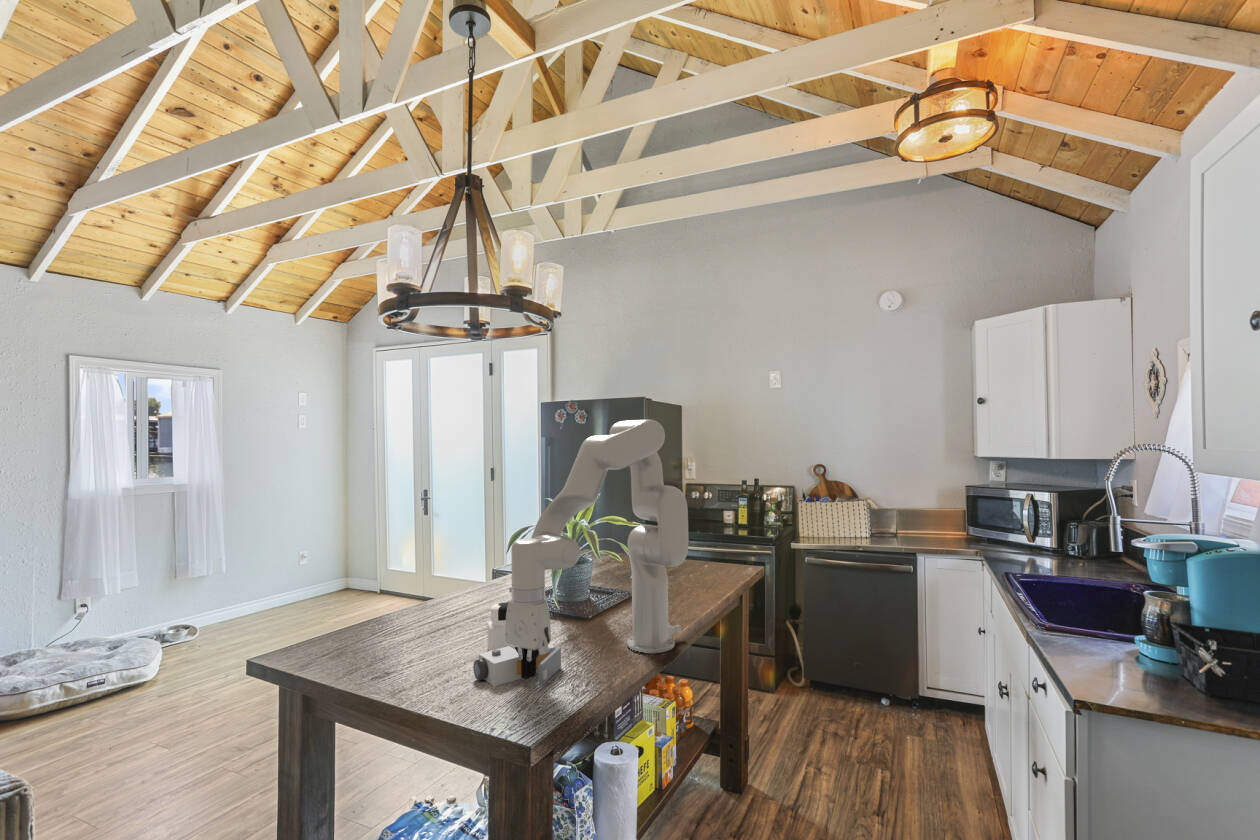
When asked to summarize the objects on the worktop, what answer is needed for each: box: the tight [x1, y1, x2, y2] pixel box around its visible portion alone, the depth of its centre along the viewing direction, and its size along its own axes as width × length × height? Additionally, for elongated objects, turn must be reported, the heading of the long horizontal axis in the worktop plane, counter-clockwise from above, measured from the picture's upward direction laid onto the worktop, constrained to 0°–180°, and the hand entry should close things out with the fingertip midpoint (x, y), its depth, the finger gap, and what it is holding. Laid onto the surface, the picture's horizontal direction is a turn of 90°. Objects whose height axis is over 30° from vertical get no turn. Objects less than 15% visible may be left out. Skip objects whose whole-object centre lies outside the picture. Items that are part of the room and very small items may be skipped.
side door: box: [537, 646, 562, 687], centre depth 136 cm, size 12×1×5 cm, turn 165°
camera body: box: [472, 643, 556, 687], centre depth 139 cm, size 18×8×6 cm, turn 130°
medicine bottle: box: [486, 602, 509, 651], centre depth 154 cm, size 7×7×12 cm
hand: (528, 676), depth 133 cm, fingers closed
